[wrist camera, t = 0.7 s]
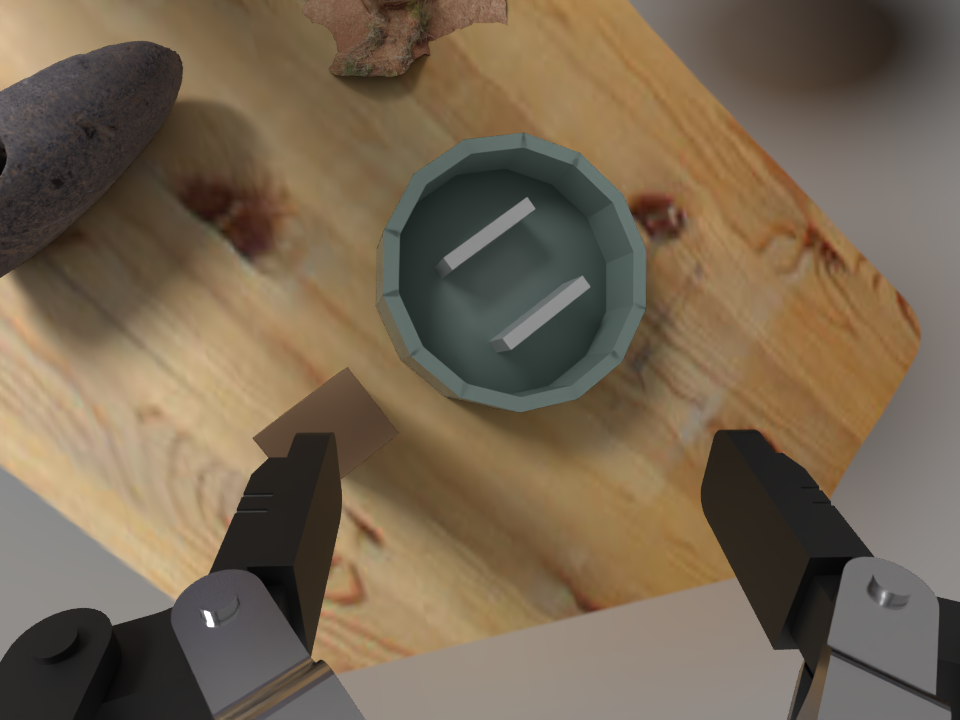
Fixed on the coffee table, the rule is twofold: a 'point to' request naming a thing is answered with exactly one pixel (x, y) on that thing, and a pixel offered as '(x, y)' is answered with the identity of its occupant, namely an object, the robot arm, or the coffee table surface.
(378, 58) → the clay slab
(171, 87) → the perforated stone tool
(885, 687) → the robot arm
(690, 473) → the coffee table surface
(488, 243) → the slotted round holder
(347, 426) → the tall wooden post
